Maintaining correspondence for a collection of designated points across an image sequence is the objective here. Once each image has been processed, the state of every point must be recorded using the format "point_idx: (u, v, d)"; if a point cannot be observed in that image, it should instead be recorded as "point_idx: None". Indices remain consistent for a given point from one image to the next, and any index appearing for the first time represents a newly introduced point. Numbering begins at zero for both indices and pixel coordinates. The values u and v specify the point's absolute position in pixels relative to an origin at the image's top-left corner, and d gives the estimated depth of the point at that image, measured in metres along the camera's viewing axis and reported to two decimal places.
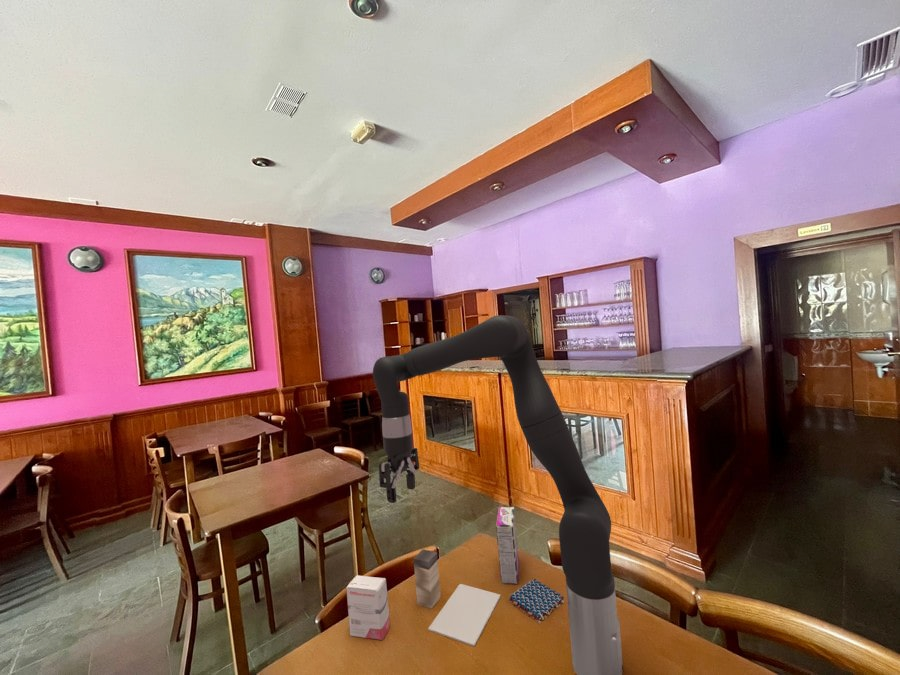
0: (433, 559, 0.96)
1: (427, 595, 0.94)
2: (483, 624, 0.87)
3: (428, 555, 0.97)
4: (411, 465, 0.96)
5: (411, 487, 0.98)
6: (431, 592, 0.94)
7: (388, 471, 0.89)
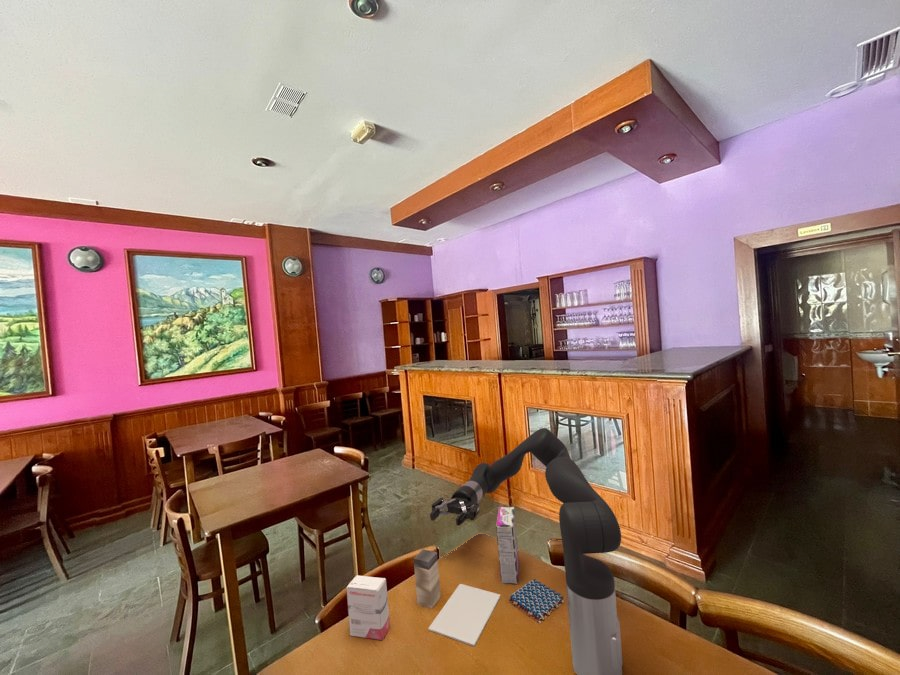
0: (433, 559, 0.96)
1: (427, 595, 0.94)
2: (483, 624, 0.87)
3: (428, 555, 0.97)
4: None
5: (433, 518, 1.09)
6: (431, 592, 0.94)
7: None
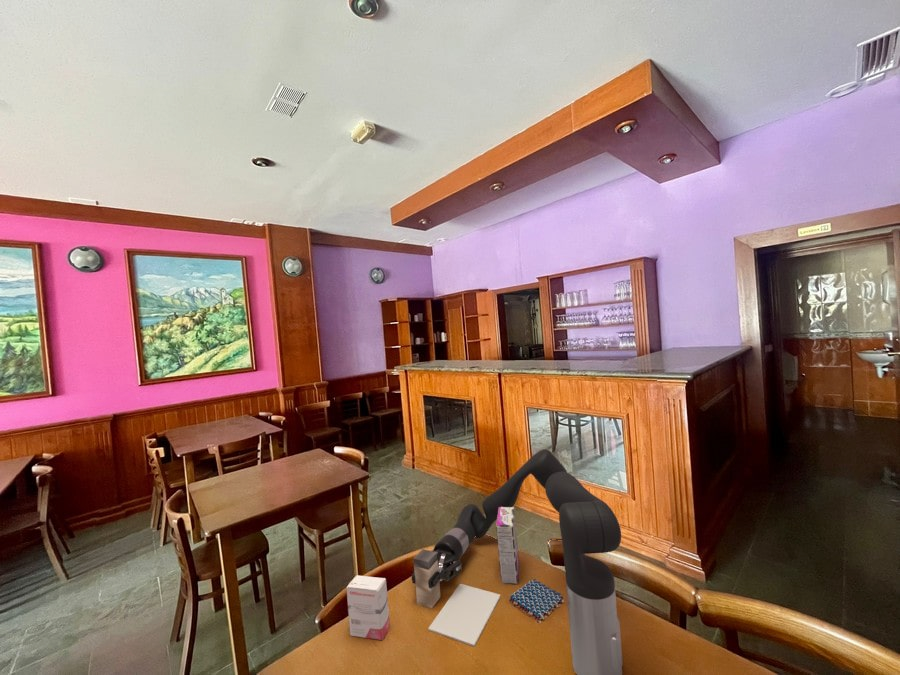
0: (433, 559, 0.96)
1: (427, 595, 0.94)
2: (483, 624, 0.87)
3: (428, 555, 0.97)
4: None
5: None
6: (431, 591, 0.94)
7: None
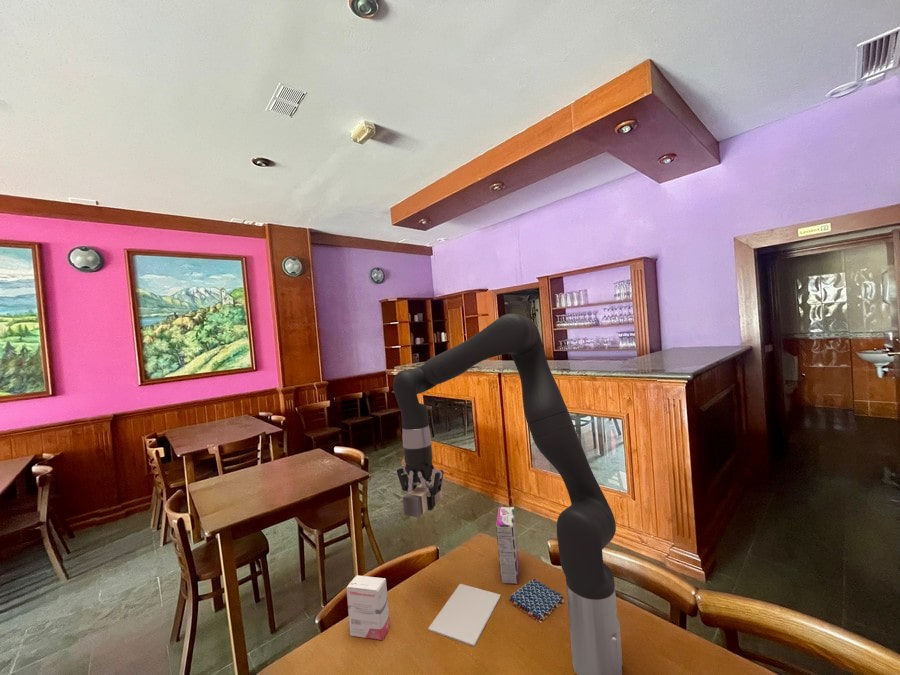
0: (419, 505, 0.92)
1: None
2: (483, 624, 0.87)
3: (412, 506, 0.92)
4: None
5: None
6: None
7: None
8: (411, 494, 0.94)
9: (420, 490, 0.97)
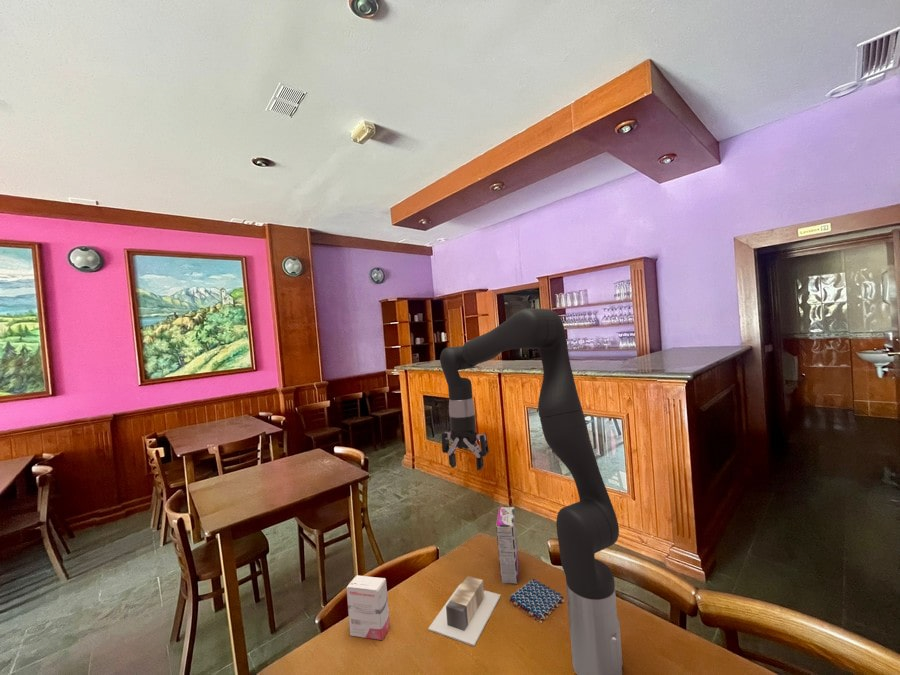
0: (464, 617, 0.86)
1: None
2: (483, 624, 0.87)
3: (457, 617, 0.86)
4: None
5: (455, 464, 1.10)
6: (477, 606, 0.92)
7: None
8: (455, 602, 0.88)
9: (464, 595, 0.91)
